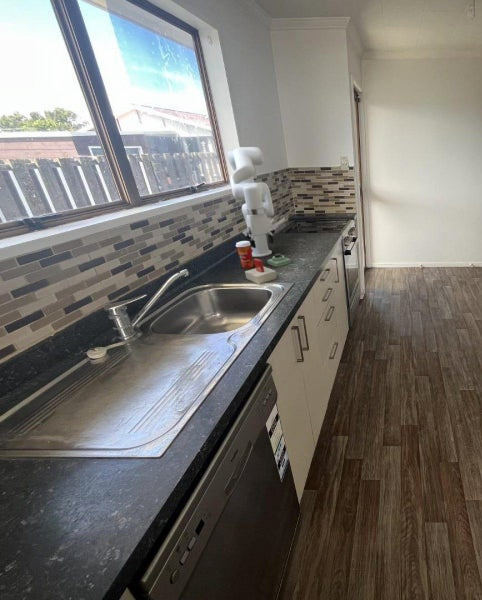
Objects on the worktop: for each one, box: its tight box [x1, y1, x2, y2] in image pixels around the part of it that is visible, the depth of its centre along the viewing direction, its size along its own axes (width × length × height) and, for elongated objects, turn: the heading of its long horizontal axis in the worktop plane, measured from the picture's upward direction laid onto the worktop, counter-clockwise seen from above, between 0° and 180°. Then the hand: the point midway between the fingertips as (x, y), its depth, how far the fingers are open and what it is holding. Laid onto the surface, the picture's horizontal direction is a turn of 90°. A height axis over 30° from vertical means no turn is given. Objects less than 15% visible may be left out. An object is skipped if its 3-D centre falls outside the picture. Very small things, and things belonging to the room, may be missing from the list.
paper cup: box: [235, 240, 255, 269], centre depth 182 cm, size 8×8×14 cm
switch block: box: [266, 254, 292, 268], centre depth 188 cm, size 10×9×4 cm
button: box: [274, 253, 282, 258], centre depth 187 cm, size 4×4×2 cm
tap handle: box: [253, 258, 265, 273], centre depth 165 cm, size 6×2×6 cm, turn 51°
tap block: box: [244, 265, 278, 285], centre depth 167 cm, size 12×10×4 cm
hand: (262, 245), depth 169 cm, fingers open, 9 cm apart
